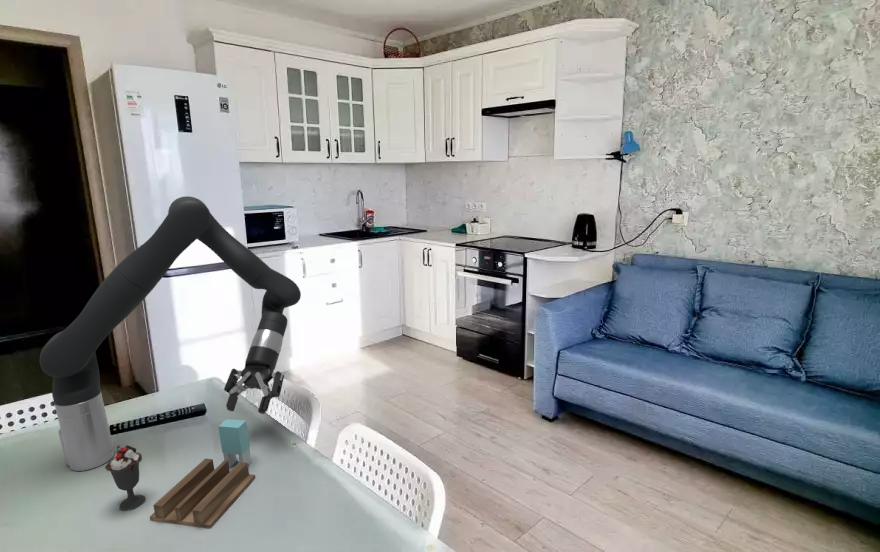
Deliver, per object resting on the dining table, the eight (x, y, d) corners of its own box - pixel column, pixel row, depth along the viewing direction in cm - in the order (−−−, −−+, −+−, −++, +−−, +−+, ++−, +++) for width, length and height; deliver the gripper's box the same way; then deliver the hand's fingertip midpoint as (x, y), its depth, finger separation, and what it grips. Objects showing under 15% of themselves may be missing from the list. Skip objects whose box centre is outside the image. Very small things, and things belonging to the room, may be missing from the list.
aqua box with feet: (224, 467, 117) (218, 426, 115) (232, 459, 120) (226, 419, 118) (244, 469, 116) (238, 428, 114) (252, 461, 119) (246, 420, 117)
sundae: (124, 517, 102) (110, 453, 98) (108, 506, 105) (94, 444, 102) (156, 498, 107) (144, 437, 104) (140, 489, 111) (127, 429, 107)
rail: (150, 520, 101) (146, 504, 100) (201, 472, 116) (199, 457, 115) (210, 528, 98) (207, 512, 97) (255, 477, 113) (253, 463, 112)
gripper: (233, 343, 127) (211, 405, 119) (283, 345, 124) (264, 409, 116) (247, 354, 134) (227, 414, 125) (295, 357, 131) (278, 418, 123)
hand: (245, 411), depth 121 cm, fingers open, 8 cm apart
